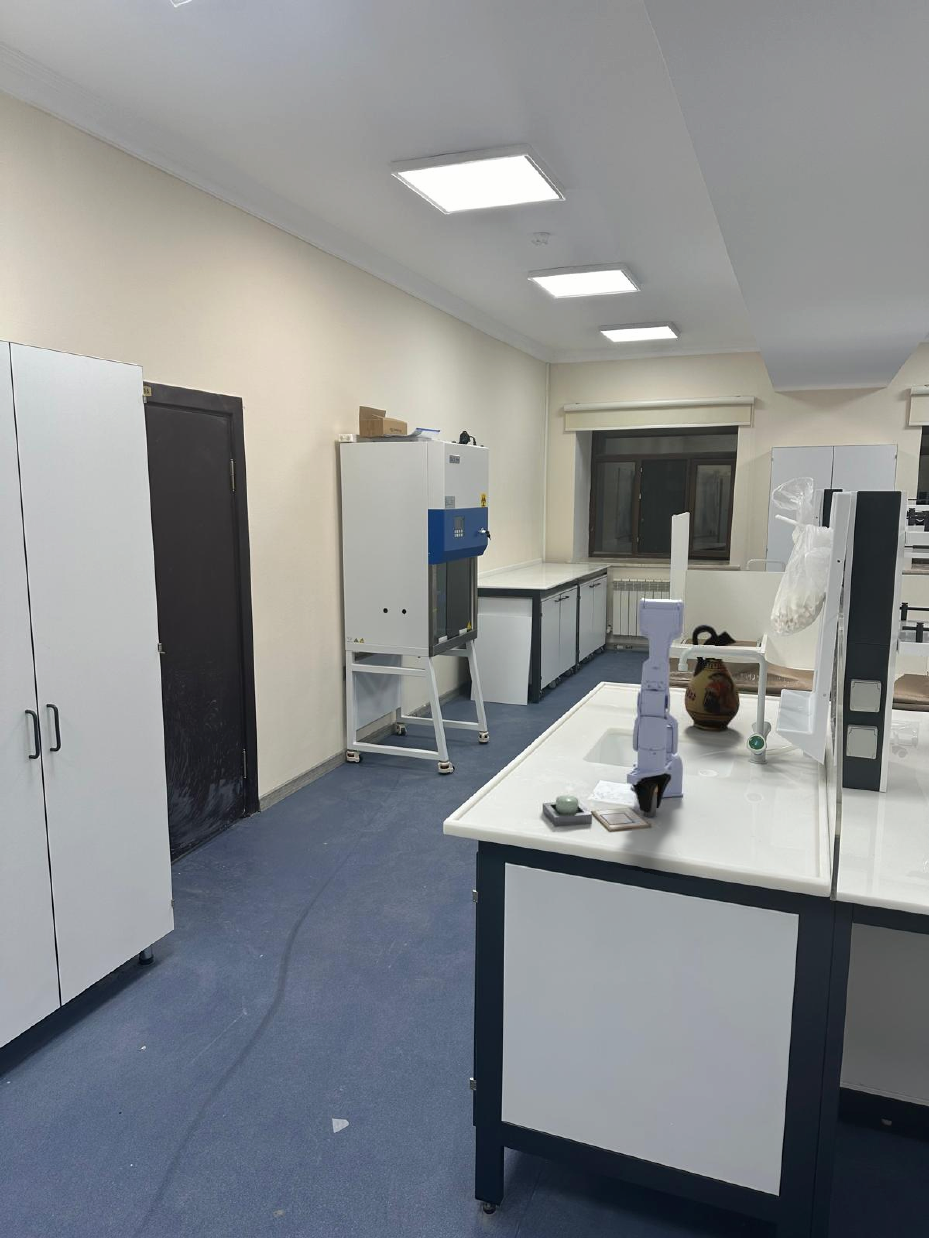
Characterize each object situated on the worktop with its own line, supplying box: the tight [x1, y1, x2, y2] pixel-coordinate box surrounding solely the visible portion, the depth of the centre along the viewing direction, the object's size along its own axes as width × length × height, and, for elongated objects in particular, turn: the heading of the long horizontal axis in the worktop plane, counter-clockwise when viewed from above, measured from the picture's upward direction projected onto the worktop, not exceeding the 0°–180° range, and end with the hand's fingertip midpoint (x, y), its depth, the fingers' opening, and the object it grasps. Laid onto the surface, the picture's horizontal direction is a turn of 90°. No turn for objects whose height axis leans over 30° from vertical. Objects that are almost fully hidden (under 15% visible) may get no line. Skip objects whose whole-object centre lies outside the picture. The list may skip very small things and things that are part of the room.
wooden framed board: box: [590, 807, 652, 832], centre depth 169 cm, size 9×10×1 cm
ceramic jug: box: [684, 624, 741, 732], centre depth 237 cm, size 17×15×30 cm
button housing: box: [542, 800, 593, 828], centre depth 170 cm, size 8×8×2 cm
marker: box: [642, 786, 658, 819], centre depth 171 cm, size 3×3×6 cm
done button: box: [555, 795, 579, 815], centre depth 170 cm, size 5×5×3 cm
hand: (649, 808), depth 171 cm, fingers closed on marker, 3 cm apart
